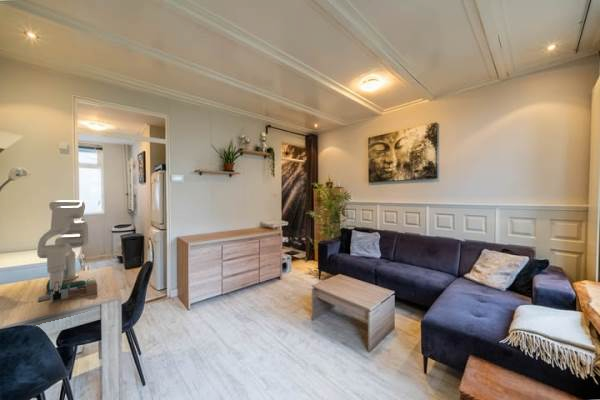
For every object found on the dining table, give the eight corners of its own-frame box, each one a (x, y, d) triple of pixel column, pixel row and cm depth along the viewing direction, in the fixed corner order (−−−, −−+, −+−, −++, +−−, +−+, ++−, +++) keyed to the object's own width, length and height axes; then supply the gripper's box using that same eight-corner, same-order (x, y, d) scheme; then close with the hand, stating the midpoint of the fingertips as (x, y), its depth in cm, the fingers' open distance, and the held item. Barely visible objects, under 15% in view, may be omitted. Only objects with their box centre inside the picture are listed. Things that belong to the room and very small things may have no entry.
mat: (38, 298, 137) (38, 297, 137) (58, 294, 143) (58, 293, 143) (38, 302, 132) (38, 301, 132) (58, 297, 138) (58, 296, 138)
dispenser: (67, 295, 141) (67, 281, 141) (95, 289, 150) (95, 276, 150) (68, 299, 135) (67, 285, 135) (97, 293, 145) (97, 279, 145)
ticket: (50, 300, 134) (50, 292, 134) (77, 294, 142) (77, 286, 142) (50, 301, 133) (50, 293, 132) (77, 296, 140) (77, 288, 140)
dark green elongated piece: (46, 293, 144) (46, 280, 144) (47, 289, 149) (47, 277, 149) (85, 285, 156) (85, 274, 156) (85, 282, 161) (85, 271, 161)
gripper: (47, 265, 138) (48, 295, 139) (46, 273, 126) (47, 306, 127) (65, 263, 143) (65, 291, 144) (65, 270, 132) (66, 301, 133)
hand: (57, 298), depth 136 cm, fingers open, 4 cm apart
